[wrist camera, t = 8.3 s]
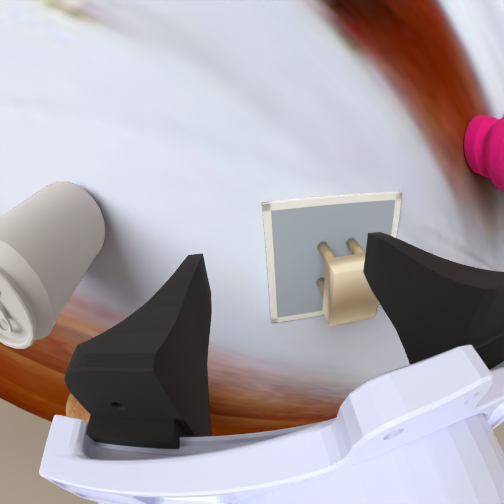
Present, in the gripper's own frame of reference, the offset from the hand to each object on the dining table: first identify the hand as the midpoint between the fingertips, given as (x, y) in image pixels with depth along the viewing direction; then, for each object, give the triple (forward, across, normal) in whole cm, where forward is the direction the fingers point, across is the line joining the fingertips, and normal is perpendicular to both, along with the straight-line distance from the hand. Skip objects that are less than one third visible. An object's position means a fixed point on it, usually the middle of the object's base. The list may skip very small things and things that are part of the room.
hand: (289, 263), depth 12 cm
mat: (+10, -6, +7) cm, 14 cm away
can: (+11, +16, 0) cm, 19 cm away
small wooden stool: (+10, -6, +7) cm, 14 cm away
